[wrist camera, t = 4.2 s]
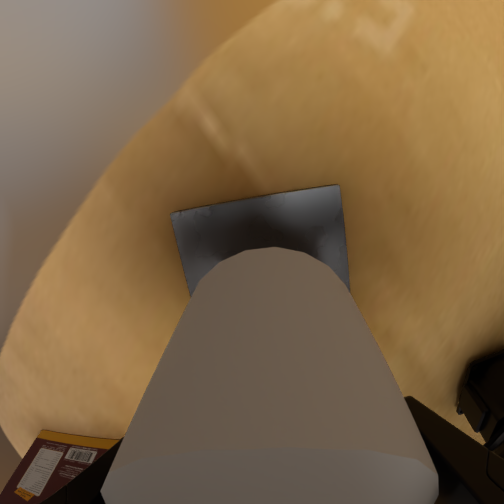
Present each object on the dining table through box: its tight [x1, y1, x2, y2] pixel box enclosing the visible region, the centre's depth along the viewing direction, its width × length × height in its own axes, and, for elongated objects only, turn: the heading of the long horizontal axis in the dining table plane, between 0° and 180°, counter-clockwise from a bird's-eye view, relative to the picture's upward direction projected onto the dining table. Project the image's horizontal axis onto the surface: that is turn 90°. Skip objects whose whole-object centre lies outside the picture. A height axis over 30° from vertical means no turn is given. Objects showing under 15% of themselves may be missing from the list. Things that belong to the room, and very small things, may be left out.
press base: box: [170, 184, 350, 297], centre depth 21 cm, size 10×28×3 cm, turn 10°
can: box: [101, 247, 439, 504], centre depth 9 cm, size 8×8×12 cm
